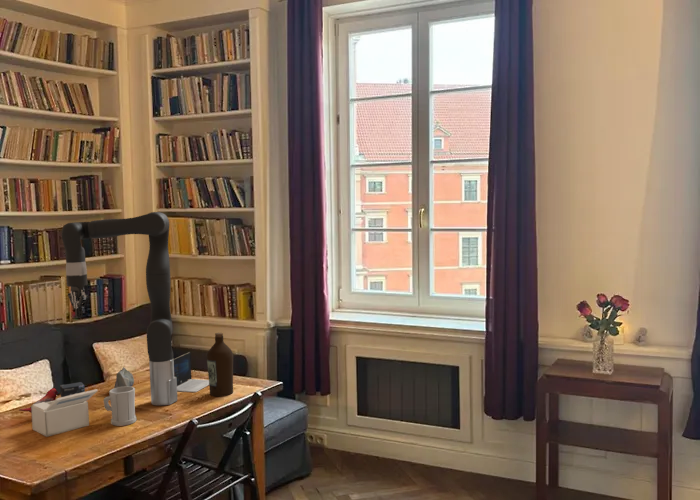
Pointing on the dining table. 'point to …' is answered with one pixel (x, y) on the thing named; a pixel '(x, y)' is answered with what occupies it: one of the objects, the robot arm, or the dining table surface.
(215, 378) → the brown bottle
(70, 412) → the carton
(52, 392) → the decorative bird figurine
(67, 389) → the box
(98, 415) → the dining table surface
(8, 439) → the dining table surface
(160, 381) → the robot arm
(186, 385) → the laptop
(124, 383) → the mineral rock
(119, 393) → the cup
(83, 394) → the flap
